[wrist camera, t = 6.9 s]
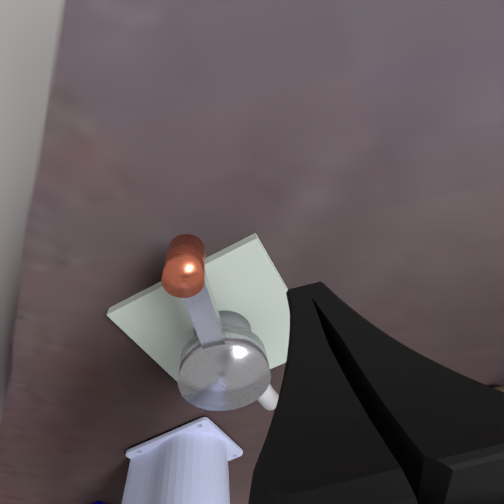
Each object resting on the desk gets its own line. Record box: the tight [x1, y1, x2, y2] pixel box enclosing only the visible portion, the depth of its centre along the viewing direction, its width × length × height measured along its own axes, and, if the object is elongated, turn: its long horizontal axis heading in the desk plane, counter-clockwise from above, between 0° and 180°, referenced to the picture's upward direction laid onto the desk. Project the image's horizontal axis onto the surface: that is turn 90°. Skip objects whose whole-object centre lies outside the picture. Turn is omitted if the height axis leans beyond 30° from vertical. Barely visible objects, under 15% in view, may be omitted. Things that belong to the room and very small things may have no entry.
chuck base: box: [107, 233, 290, 410], centre depth 24 cm, size 12×14×3 cm
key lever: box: [161, 234, 271, 411], centre depth 19 cm, size 13×6×3 cm, turn 11°
